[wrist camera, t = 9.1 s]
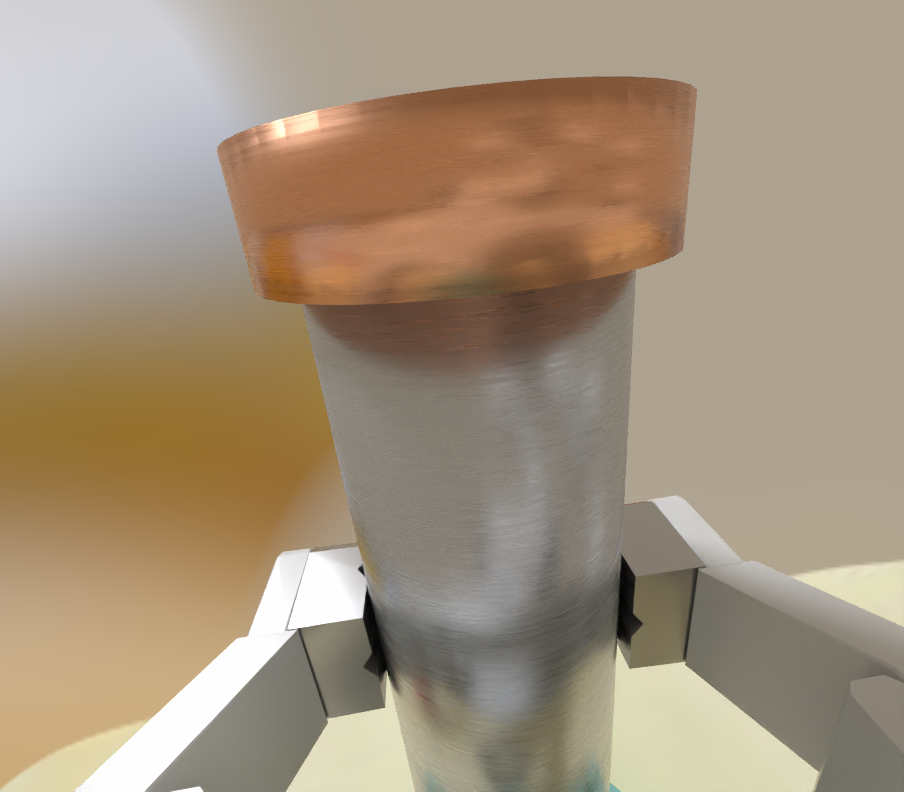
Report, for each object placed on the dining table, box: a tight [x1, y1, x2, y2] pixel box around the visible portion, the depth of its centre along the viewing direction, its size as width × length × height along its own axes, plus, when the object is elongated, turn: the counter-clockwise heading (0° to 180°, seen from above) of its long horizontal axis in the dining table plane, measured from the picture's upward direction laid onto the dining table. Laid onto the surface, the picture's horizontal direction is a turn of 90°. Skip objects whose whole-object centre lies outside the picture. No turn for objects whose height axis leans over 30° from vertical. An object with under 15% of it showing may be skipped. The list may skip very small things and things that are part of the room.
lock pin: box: [217, 77, 697, 792], centre depth 7 cm, size 4×4×14 cm
